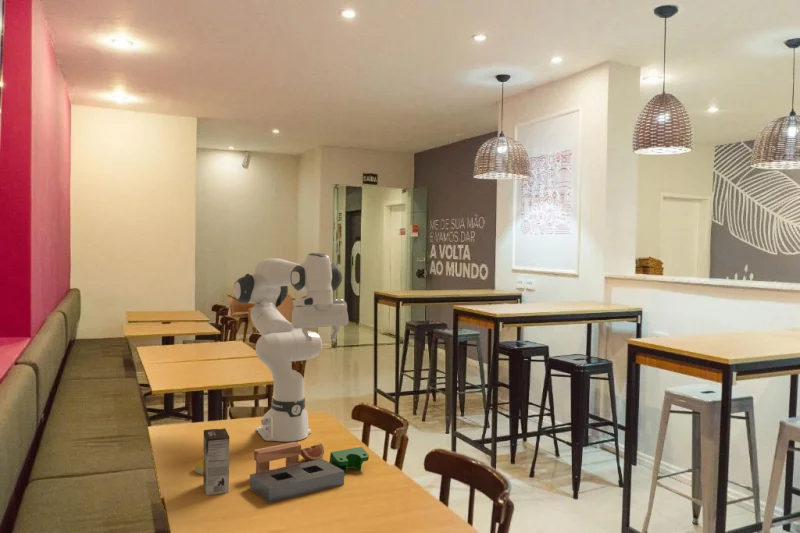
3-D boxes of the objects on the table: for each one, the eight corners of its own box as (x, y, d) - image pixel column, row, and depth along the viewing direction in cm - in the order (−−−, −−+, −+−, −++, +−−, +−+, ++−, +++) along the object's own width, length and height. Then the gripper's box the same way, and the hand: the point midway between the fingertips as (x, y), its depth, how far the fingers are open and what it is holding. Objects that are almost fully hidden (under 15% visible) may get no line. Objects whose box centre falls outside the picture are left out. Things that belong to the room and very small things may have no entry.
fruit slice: (306, 466, 193) (307, 451, 193) (294, 461, 198) (294, 446, 198) (327, 460, 199) (327, 445, 199) (315, 455, 204) (315, 440, 204)
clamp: (340, 486, 188) (333, 465, 184) (332, 476, 193) (325, 454, 189) (373, 467, 193) (367, 445, 189) (365, 457, 198) (358, 436, 194)
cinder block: (249, 488, 174) (249, 474, 174) (321, 471, 189) (322, 458, 189) (269, 503, 164) (269, 488, 164) (344, 484, 179) (344, 470, 179)
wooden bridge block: (253, 475, 184) (254, 449, 184) (294, 466, 193) (295, 441, 193) (259, 479, 181) (259, 453, 181) (300, 470, 189) (301, 445, 189)
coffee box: (202, 484, 177) (203, 429, 176) (225, 481, 179) (225, 427, 179) (205, 495, 168) (206, 438, 168) (229, 492, 171) (230, 436, 171)
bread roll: (196, 467, 191) (197, 454, 191) (226, 466, 193) (226, 453, 193) (192, 476, 183) (192, 463, 183) (222, 475, 185) (223, 462, 185)
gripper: (342, 299, 214) (343, 338, 213) (288, 301, 202) (290, 342, 202) (351, 298, 209) (352, 338, 208) (296, 300, 197) (298, 343, 196)
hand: (321, 340), depth 205 cm, fingers open, 8 cm apart
